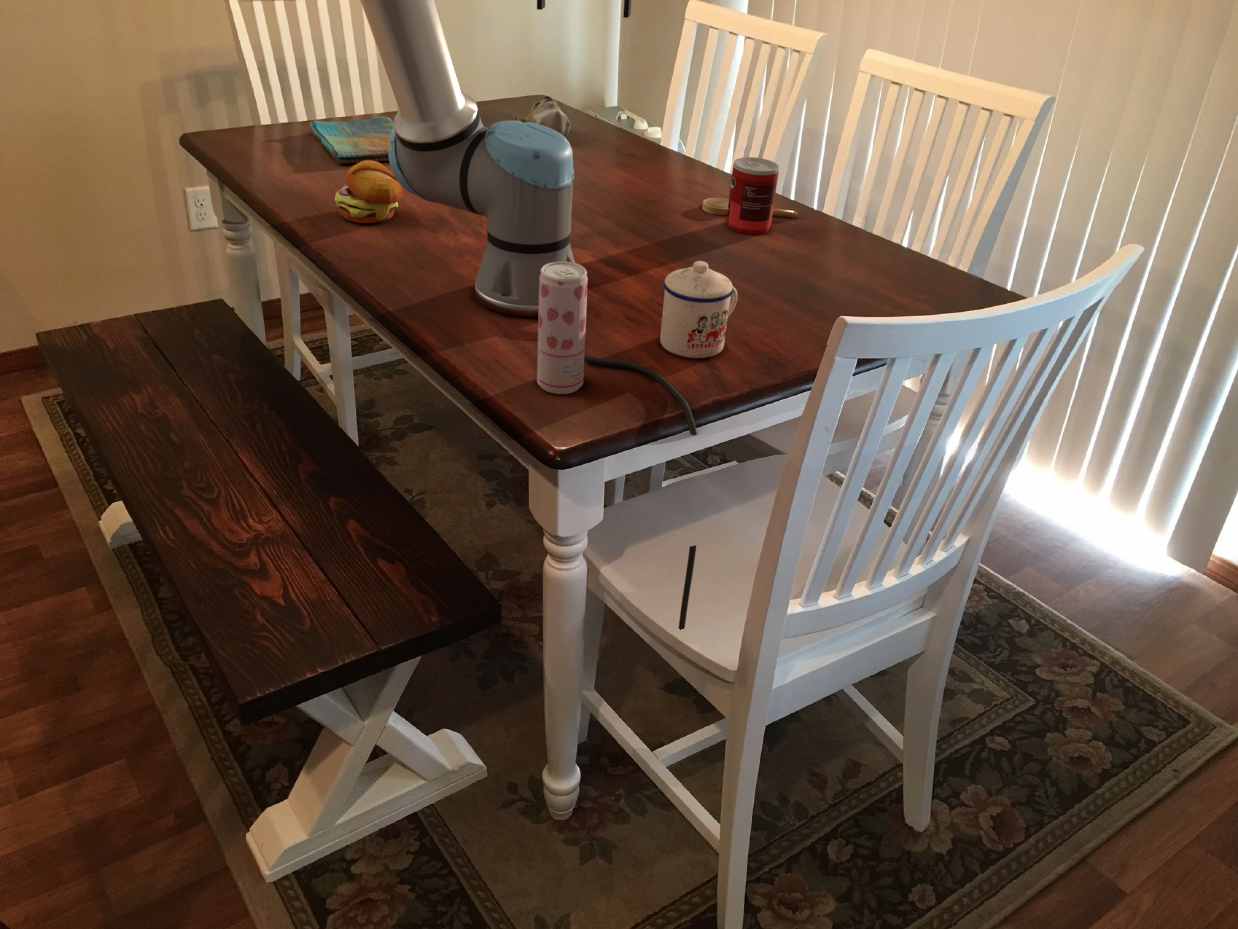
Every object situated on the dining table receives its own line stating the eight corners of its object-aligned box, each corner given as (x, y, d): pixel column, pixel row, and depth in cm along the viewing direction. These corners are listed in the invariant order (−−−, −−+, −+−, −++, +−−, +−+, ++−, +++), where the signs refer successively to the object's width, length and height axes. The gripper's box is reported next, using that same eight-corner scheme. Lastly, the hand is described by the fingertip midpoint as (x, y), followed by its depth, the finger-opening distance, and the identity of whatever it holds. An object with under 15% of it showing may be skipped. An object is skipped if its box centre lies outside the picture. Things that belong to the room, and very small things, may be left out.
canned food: (744, 215, 178) (752, 154, 172) (779, 228, 173) (789, 166, 167) (716, 224, 173) (723, 161, 167) (751, 238, 169) (760, 173, 163)
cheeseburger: (363, 199, 172) (370, 145, 166) (410, 227, 170) (419, 174, 164) (321, 214, 165) (327, 158, 159) (370, 243, 162) (378, 188, 156)
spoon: (796, 212, 181) (797, 205, 181) (796, 223, 176) (797, 216, 176) (703, 202, 183) (704, 195, 182) (701, 213, 178) (701, 206, 177)
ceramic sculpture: (533, 103, 200) (512, 89, 211) (533, 147, 204) (512, 131, 216) (583, 102, 203) (559, 88, 215) (581, 145, 208) (558, 130, 219)
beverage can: (567, 400, 119) (571, 283, 111) (528, 386, 122) (529, 271, 113) (591, 381, 124) (597, 268, 115) (553, 368, 126) (556, 256, 117)
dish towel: (391, 126, 211) (390, 114, 210) (425, 159, 194) (424, 146, 192) (309, 132, 204) (307, 119, 203) (336, 166, 187) (335, 152, 186)
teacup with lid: (690, 366, 128) (699, 282, 122) (644, 340, 134) (651, 258, 128) (754, 344, 135) (766, 263, 129) (708, 319, 141) (717, 240, 134)
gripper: (678, -142, 145) (665, 15, 157) (511, -155, 147) (511, 1, 159) (673, -141, 139) (660, 23, 150) (498, -154, 141) (499, 8, 153)
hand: (583, 12), depth 155 cm, fingers open, 13 cm apart
